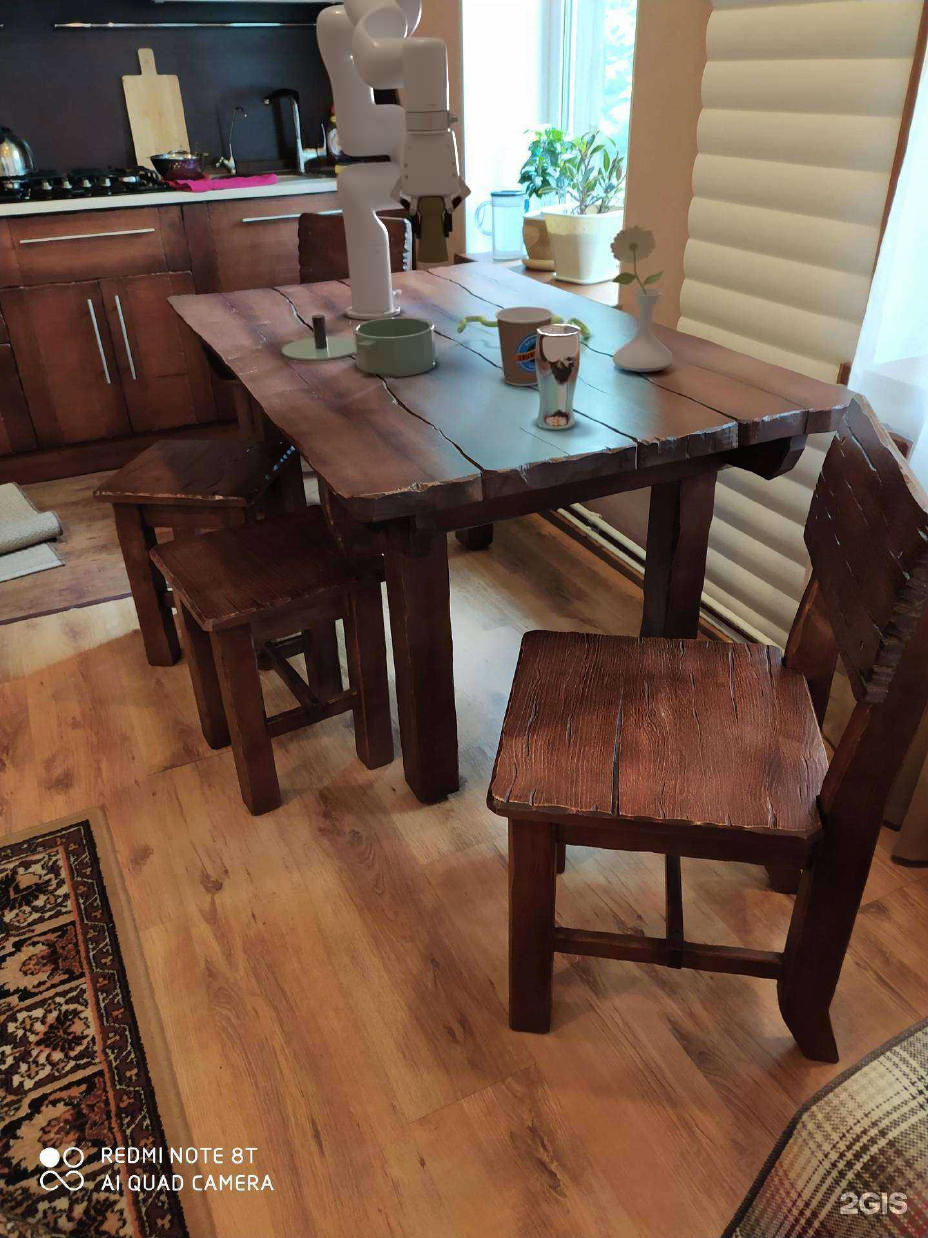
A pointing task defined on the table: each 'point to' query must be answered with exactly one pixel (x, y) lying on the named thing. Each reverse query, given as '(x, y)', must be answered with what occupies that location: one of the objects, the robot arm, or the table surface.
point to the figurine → (554, 320)
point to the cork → (432, 230)
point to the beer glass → (557, 374)
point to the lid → (319, 345)
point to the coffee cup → (520, 342)
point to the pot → (395, 346)
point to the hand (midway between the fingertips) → (432, 235)
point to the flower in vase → (640, 304)
